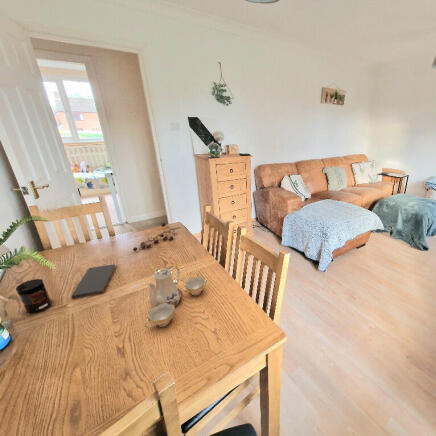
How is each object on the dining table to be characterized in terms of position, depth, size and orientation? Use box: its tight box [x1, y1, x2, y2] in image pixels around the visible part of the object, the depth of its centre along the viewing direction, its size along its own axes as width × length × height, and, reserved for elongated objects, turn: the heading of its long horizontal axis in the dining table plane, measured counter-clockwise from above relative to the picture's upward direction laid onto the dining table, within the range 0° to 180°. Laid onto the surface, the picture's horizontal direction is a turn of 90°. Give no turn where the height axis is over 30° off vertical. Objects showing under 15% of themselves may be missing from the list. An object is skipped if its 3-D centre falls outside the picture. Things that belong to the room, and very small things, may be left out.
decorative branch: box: [132, 222, 182, 252], centre depth 138 cm, size 11×9×30 cm
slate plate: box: [71, 263, 116, 300], centre depth 104 cm, size 10×20×2 cm, turn 22°
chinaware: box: [144, 266, 207, 329], centre depth 91 cm, size 28×17×17 cm, turn 167°
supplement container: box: [15, 278, 52, 314], centre depth 87 cm, size 7×7×10 cm
